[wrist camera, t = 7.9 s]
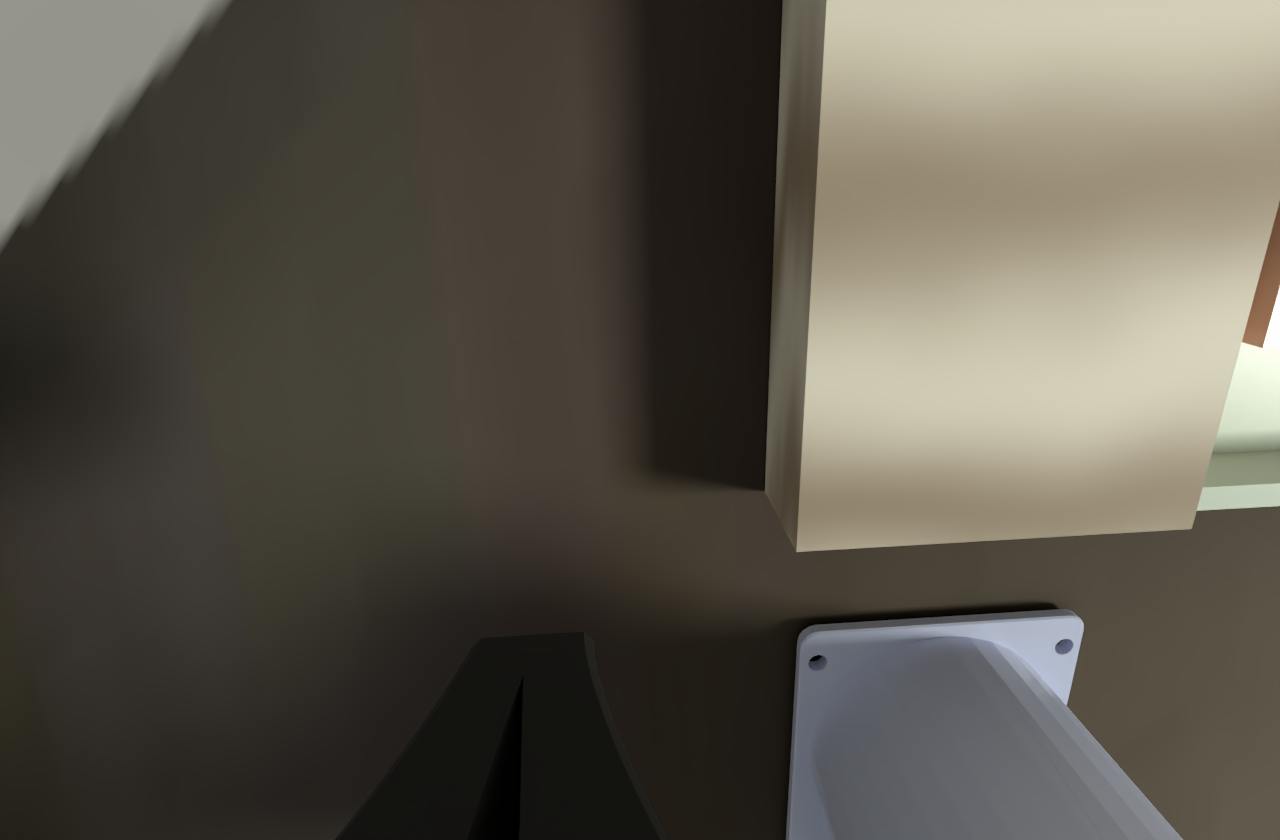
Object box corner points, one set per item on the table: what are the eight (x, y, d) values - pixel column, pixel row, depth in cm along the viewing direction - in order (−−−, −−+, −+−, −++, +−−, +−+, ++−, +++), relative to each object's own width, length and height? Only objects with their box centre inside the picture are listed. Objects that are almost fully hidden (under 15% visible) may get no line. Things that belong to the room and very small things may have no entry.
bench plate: (1101, 473, 19) (1191, 529, 16) (764, 491, 18) (796, 552, 16) (1240, -177, 14) (1403, -262, 11) (788, -174, 14) (841, -262, 11)
